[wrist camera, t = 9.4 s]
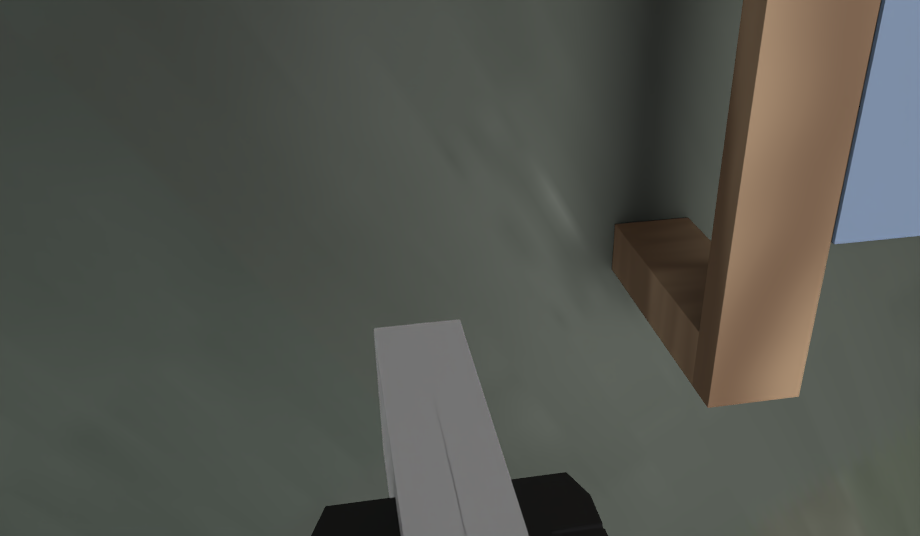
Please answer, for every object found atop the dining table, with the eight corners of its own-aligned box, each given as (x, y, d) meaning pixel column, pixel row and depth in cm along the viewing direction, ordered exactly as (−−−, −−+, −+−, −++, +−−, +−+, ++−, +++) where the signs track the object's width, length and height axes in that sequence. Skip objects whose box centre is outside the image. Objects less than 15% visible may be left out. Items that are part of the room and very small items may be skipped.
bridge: (611, 269, 34) (707, 407, 26) (640, -128, 27) (782, -106, 19) (682, 262, 34) (798, 396, 26) (728, -131, 28) (903, -110, 20)
